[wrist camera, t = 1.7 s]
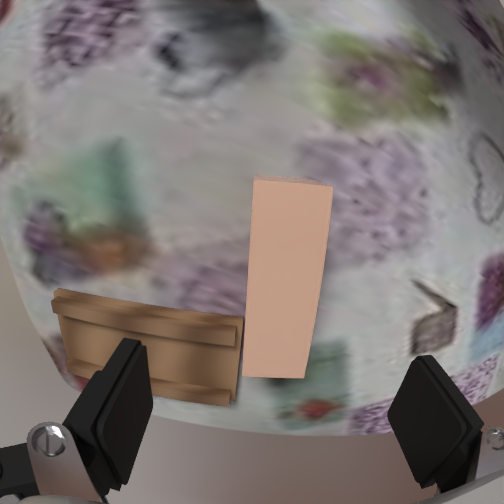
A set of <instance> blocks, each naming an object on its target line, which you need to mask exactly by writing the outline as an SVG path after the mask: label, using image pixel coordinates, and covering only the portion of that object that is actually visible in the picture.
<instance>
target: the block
mask: <svg viewBox="0 0 504 504" xmlns="http://www.w3.org/2000/svg"><path fill="white" fill-rule="evenodd" d="M332 195H333V186H330V185H327V184H324V183H320V182H317V181H314V180H311V179H303V178H291V177H279V176H266V175H255V178H254V189H253V204H252V220H251V236H250V252H249V269H248V285H247V301H246V318H245V334H244V351H243V367H242V376H250V377H271V378H304V375H305V370H306V365H307V361H308V356H309V351H310V346H311V340H312V335H313V330H314V324H315V319H316V313H317V307H318V301H319V295H320V289H321V282H322V276H323V269H324V262H325V255H326V247H327V239H328V231H329V223H330V214H331V205H332Z"/></svg>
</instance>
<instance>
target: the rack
mask: <svg viewBox="0 0 504 504" xmlns="http://www.w3.org/2000/svg"><path fill="white" fill-rule="evenodd" d="M51 304H52V309H53V313H56V314H57V315H58V319H59V324H60V329H61V333H62V338H63V342H64V346H65V350H66V354H67V357H68V361H67V362H66V367H67V370H68V372H69V373H72V374H75V375H79V376H82V377H85V378H88V379H91V377H92V376H93V374H94V373H95V372H96V371H97V370H101V371H102V370H103V368H104V366H105V365H106V363H107V362H108V360H109V359H110V357H111V356H112V354H113V352H114V351H115V349H116V348H117V346H118V345H119V343H120V342H121V340H122V339H123V338H131V339H136V340H140V341H141V343H142V345H145V346H146V347H147V356H148V366H149V374H150V383H151V390H152V395H156V396H161V397H166V398H171V399H177V400H183V401H189V402H195V403H202V404H209V405H217V406H225V407H229V400H231V401H235V394H236V384H237V375H238V365H239V356H240V346H241V337H242V328H243V317H238V316H229V315H220V314H212V313H204V312H196V311H188V310H181V309H174V308H167V307H160V306H154V305H147V304H141V303H135V302H129V301H123V300H118V299H112V298H106V297H101V296H96V295H91V294H85V293H80V292H76V291H71V290H66V289H61V288H58V289H57V290H56V291H54V299H53V300H52V301H51Z"/></svg>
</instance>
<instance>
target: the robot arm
mask: <svg viewBox="0 0 504 504" xmlns="http://www.w3.org/2000/svg"><path fill="white" fill-rule="evenodd" d="M152 409H153V398H152V390H151V383H150V374H149V366H148V356H147V347H146V346H145V345H142V343H141V341H140V340H136V339H131V338H123V339H122V340H121V342H120V343H119V345H118V346H117V348H116V349H115V351H114V352H113V354H112V356H111V357H110V359H109V360H108V362H107V363H106V365H105V366H104V368H103V370H102V371H101V370H97V371H96V372H95V373H94V374H93V376H92V377H91V379H90V380H89V382H88V383H87V385H86V387H85V388H84V390H83V391H82V393H81V394H80V396H79V398H78V399H77V401H76V402H75V404H74V406H73V407H72V409H71V410H70V412H69V414H68V415H67V417H66V419H65V420H64V422H63V424H62V425H61V424H59V423H55V422H43V423H40V424H38V425H36V426H34V427H33V428H32V429H31V430H30V432H29V433H28V436H27V443H23V444H18V445H14V446H9V447H4V448H0V504H109V502H108V500H107V498H106V496H105V495H107V494H108V493H109V490H110V488H111V489H114V490H117V491H120V488H121V485H122V484H124V485H126V484H127V483H128V480H129V477H130V474H131V471H132V468H133V465H134V462H135V459H136V456H137V453H138V450H139V447H140V444H141V441H142V438H143V435H144V433H145V430H146V426H147V424H148V421H149V418H150V415H151V412H152ZM387 416H388V420H389V422H390V425H391V427H392V429H393V431H394V433H395V435H396V438H397V440H398V442H399V444H400V446H401V449H402V451H403V453H404V455H405V458H406V460H407V462H408V465H409V467H410V469H411V472H412V474H413V476H414V479H415V481H416V482H418V483H419V484H420V486H421V488H422V489H423V488H426V487H429V486H432V485H434V484H435V483H437V489H436V492H435V494H434V497H431V498H428V499H425V500H423V501H419V502H416V503H413V504H504V430H503V429H502V428H500V427H496V426H489V427H487V428H486V429H485V430H484V431H483V432H481V430H480V429H481V428H482V426H483V425H484V422H483V421H482V420H481V418H480V417H479V415H478V414H477V413H476V411H475V410H474V409H473V407H472V406H471V405H470V403H469V402H468V401H467V399H466V398H465V397H464V395H463V394H462V393H461V391H460V390H459V389H458V387H457V386H456V385H455V384H454V382H453V381H452V380H451V378H450V377H449V376H448V375H447V373H446V372H445V371H444V370H443V368H442V367H441V366H440V365H439V363H438V362H437V361H436V360H435V358H434V357H433V356H432V355H423V356H417V357H416V358H415V360H413V361H412V362H411V364H410V366H409V369H408V371H407V373H406V375H405V377H404V380H403V382H402V384H401V386H400V388H399V390H398V392H397V394H396V396H395V398H394V400H393V402H392V404H391V406H390V408H389V410H388V414H387Z"/></svg>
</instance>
